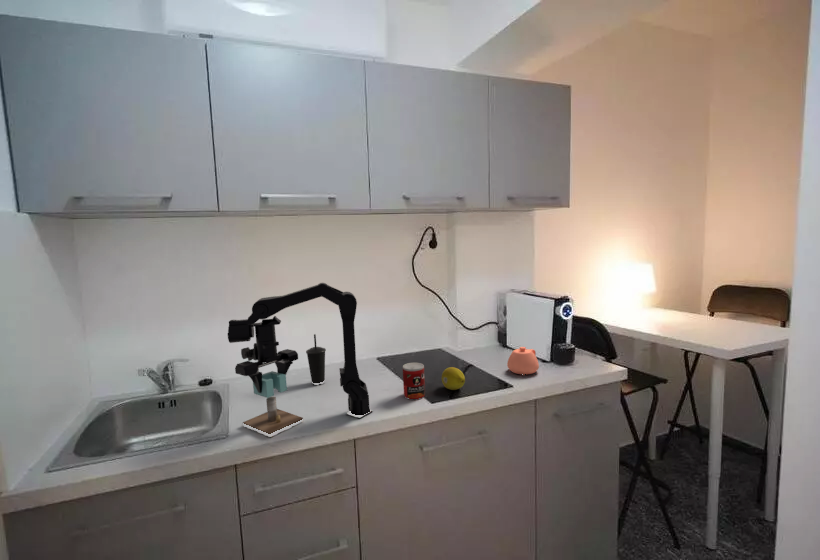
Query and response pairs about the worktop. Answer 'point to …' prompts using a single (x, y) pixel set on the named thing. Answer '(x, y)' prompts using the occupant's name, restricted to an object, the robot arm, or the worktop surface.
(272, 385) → the collar
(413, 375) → the canned food
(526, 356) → the orange teapot
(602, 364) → the worktop surface
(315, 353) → the drinking cup
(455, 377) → the lemon
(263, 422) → the board
